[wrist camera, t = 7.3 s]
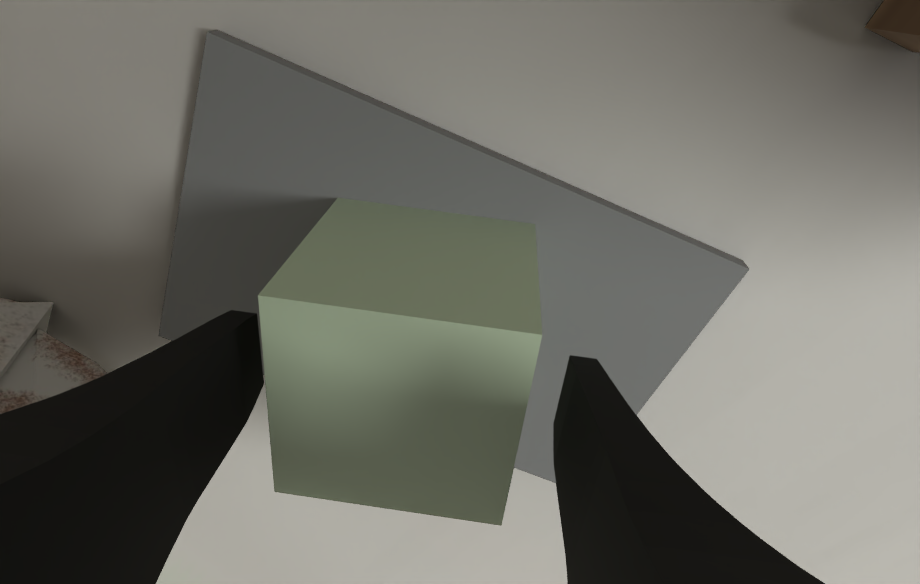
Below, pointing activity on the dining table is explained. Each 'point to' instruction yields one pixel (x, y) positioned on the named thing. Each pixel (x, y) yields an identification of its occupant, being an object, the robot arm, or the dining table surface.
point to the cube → (402, 359)
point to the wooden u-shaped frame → (898, 23)
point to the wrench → (36, 357)
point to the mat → (432, 188)
